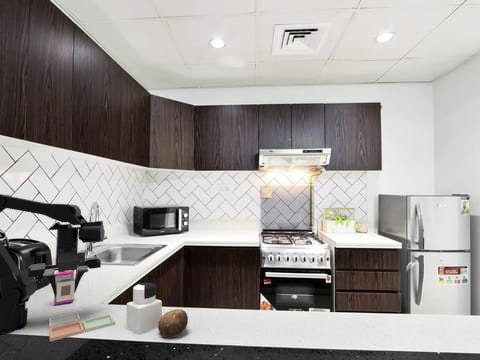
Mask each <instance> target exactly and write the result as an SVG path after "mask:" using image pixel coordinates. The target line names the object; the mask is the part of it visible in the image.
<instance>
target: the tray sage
mask: <svg viewBox="0 0 480 360" xmlns="http://www.w3.org/2000/svg"><path fill="white" fill-rule="evenodd" d="M81 322H82V325H83V328H84V333H88V332H92V331H96V330H100V329H104V328H108V327H112V326H115V325H116V320H115V319H114V317H113V316H112V314H111V313H108V314H104V315H100V316H96V317H92V318H88V319H84V320H82V321H81Z"/></svg>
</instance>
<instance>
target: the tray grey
mask: <svg viewBox="0 0 480 360" xmlns="http://www.w3.org/2000/svg"><path fill="white" fill-rule="evenodd" d="M48 321H49V322H48V323H49V324H48V325H49V326H48V327H49V328H48V329H49V330H50V328H53V327H58V326H62V325H66V324H70V323H75V322H79V321H81V317H80V314H79V312H78V311H75V312H68V313H66V314H64V313H63V314H61V315H60V314H59V315H55V316H51V317H49V318H48Z"/></svg>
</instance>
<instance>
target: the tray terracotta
mask: <svg viewBox="0 0 480 360" xmlns="http://www.w3.org/2000/svg"><path fill="white" fill-rule="evenodd" d="M82 322H83V321H81V320H80V321H79V322H75V323H70V324H66V325H62V326H58V327H53V328H50V329H49V342H54V341H58V340H61V339H66V338H69V337H73V336H77V335H80V334H83V333H85V330H84V327H83V324H82Z"/></svg>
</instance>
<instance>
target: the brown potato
mask: <svg viewBox="0 0 480 360" xmlns="http://www.w3.org/2000/svg"><path fill="white" fill-rule="evenodd" d="M188 321H189V317H188V314H187V312H186V311H185V310H184V309H182V308H176V309H172V310H170V311H167V312H165V313H164V314H162V317H161V318H160V320H159V323H158V327H157V328H158V331H159V334H160V335H161V336H162V337H164V338H167V339H168V338H169V339H170V338H171V339H173V338H176V337H178V336H180V335H181V334H183V333H184V331H185V330H186V328H187V326H188V323H189V322H188Z"/></svg>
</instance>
